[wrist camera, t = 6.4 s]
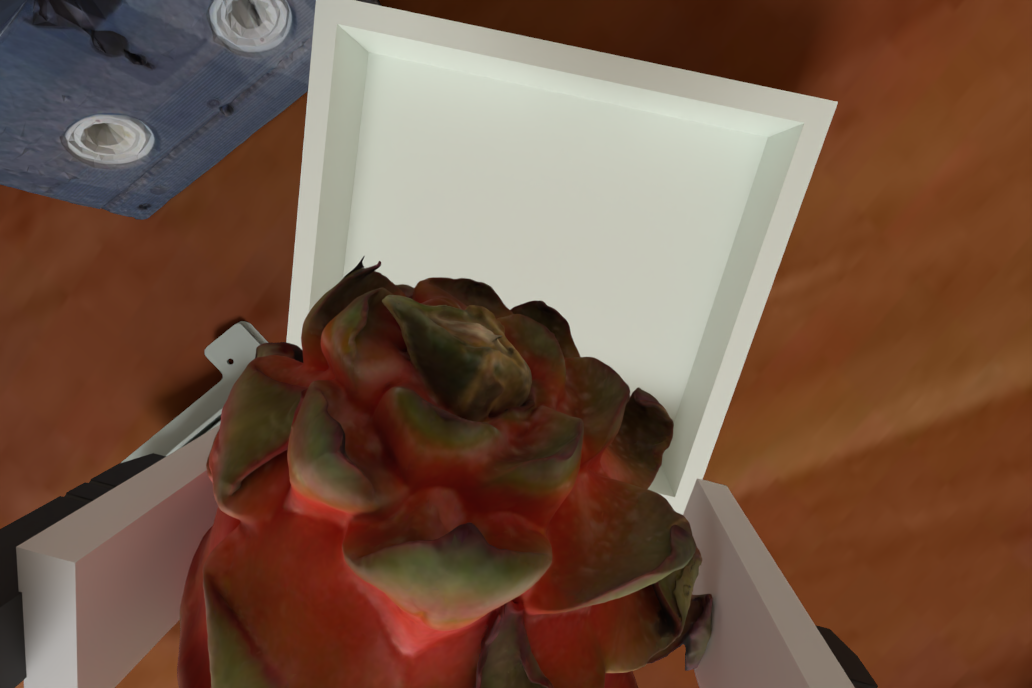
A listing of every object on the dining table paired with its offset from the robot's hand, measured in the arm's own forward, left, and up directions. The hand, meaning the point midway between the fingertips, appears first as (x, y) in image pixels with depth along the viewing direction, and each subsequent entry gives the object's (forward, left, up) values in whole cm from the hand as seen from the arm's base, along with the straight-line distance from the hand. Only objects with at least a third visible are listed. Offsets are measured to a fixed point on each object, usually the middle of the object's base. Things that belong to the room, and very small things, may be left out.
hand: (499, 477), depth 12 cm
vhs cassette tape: (-18, +9, -16) cm, 25 cm away
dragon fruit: (0, 0, 0) cm, 0 cm away
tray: (-1, +3, -16) cm, 16 cm away
